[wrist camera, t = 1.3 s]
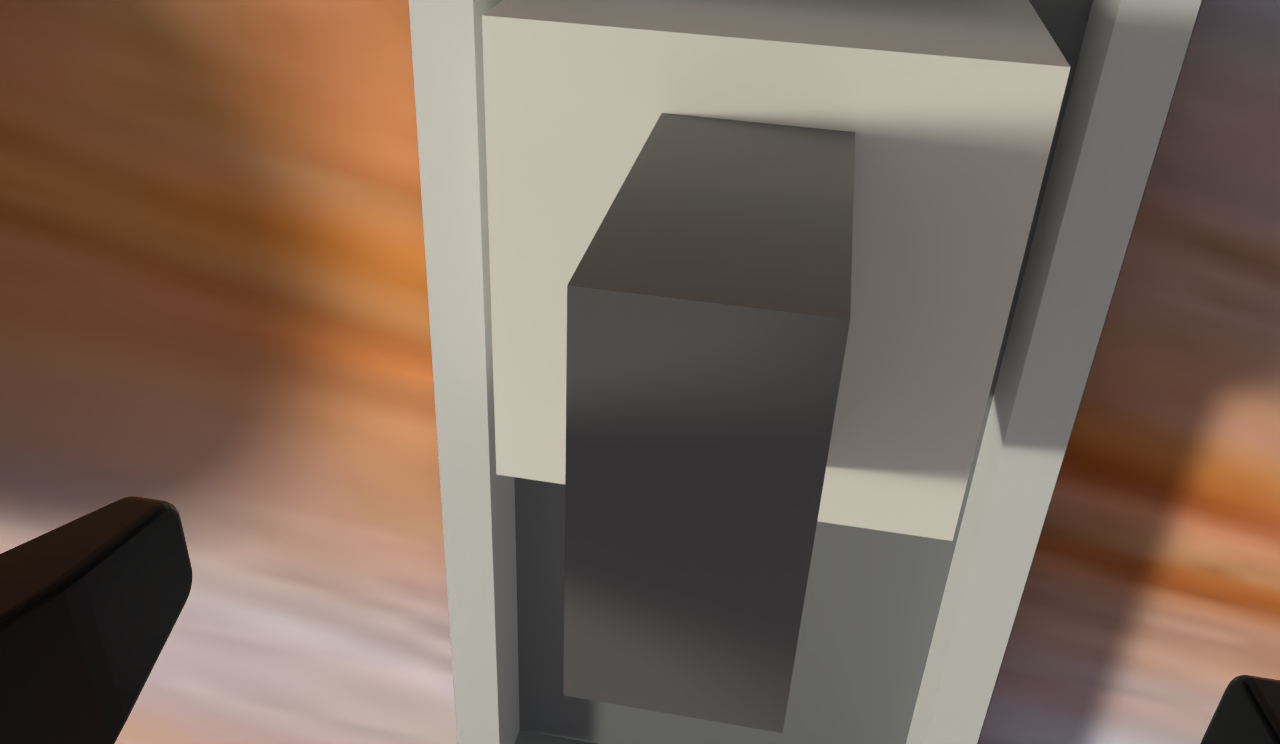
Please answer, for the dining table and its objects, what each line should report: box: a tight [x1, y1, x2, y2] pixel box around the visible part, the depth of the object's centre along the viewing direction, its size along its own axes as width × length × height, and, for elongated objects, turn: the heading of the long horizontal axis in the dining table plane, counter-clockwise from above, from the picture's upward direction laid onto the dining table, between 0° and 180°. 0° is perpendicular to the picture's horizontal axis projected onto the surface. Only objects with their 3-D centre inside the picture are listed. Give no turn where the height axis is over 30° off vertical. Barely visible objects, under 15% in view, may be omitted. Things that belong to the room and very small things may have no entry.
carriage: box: [482, 0, 1071, 733], centre depth 14 cm, size 7×7×9 cm
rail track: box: [409, 0, 1202, 744], centre depth 20 cm, size 12×20×3 cm, turn 178°
